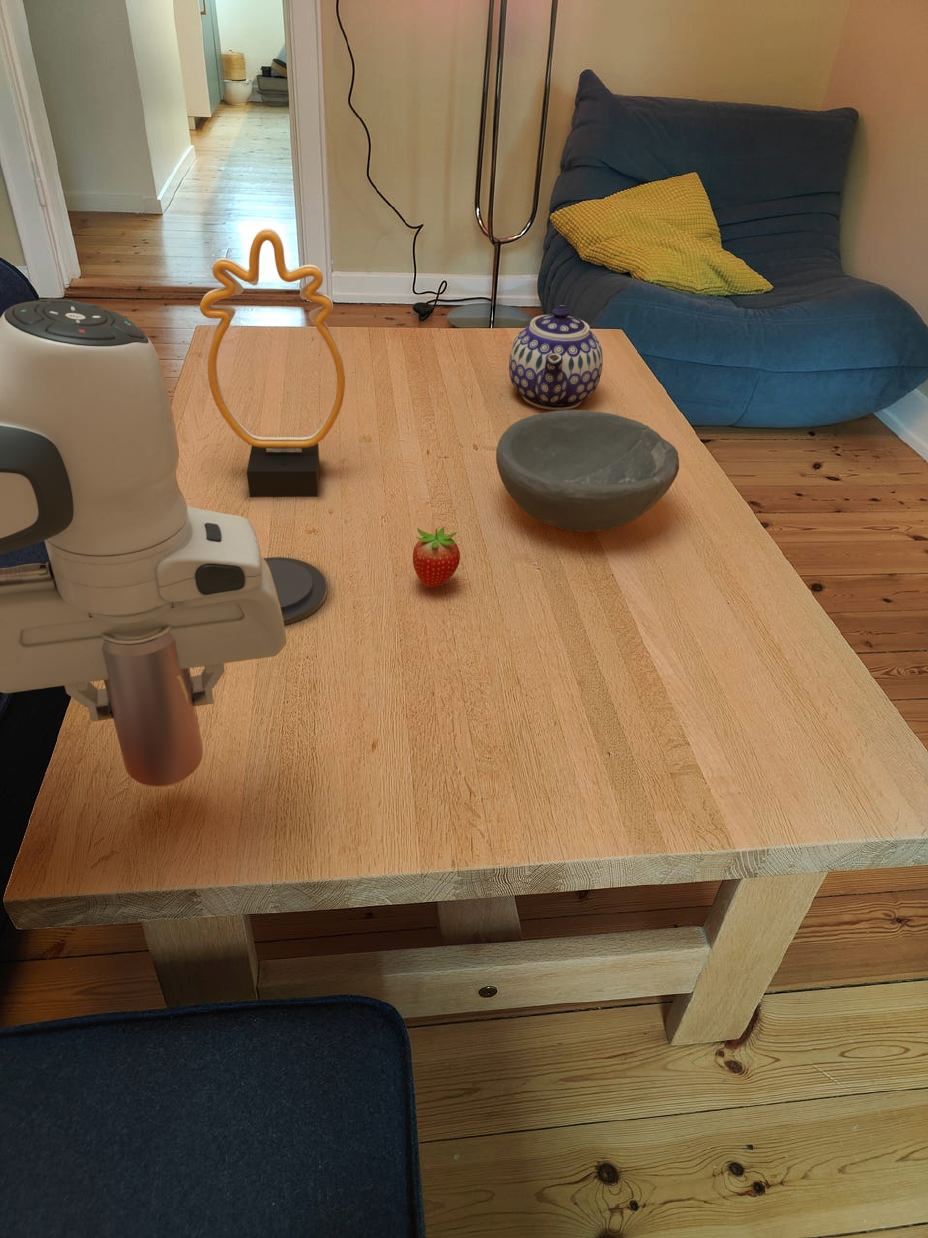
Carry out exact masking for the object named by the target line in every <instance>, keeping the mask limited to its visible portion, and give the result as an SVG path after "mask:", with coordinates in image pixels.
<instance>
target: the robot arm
mask: <svg viewBox="0 0 928 1238" xmlns="http://www.w3.org/2000/svg"><path fill="white" fill-rule="evenodd" d="M179 448H180V447H179V442H178V434H177V428H176V422H175V416H174V411H173V407H172V401H171V396H170V392H169V387H168V384H167V380H166V377H165V373H164V369H163V366H162V364H161V360H160V357H159V355H158V353H157V350H156V348H155V346H154V344H153V343H152V341H151V340H150V338H149V337H148V336H147V334H146V333H145V332H144V331H143V330H142V329H141V328H140V327H138V326H137V325H136V324H135V323H134V322H133V321H131V320H130V319H129V318H127V317H126V316H124V315H123V314H121V313H119V312H117V311H115V310H114V311H113V310H110V309H107V308H104V307H102V306H101V305H98V304H92V303H88V302H85V301H84V302H83V301H77V300H70V299H59V298H58V299H57V298H47V299H46V298H42V299H37V300H32V301H31V300H30V301H25V302H21V303H17V304H13V305H12V306H10V307H8V308H7V309H6V310H4V312H3V313H2V315H1V316H0V555H3V554H7V553H10V552H14V551H17V550H20V549H23V548H24V549H25V548H27V547H30V546H33V545H35V544H38V543H40V542H43V541H44V544H45V548H46V551H47V555H48V560H49V561H47V562H46V561H45V562H36V563H27V564H21V565H16V566H11V567H1V568H0V693H2V694H12V693H19V692H27V691H35V690H41V689H48V688H55V687H62V686H64V689H65V694H67V695H68V696H69V697H71V698H72V699H74V701H76V702H77V703H79V704H81V705H82V706H84V707H85V708H87V710H88V713H89V716H90V720H91V722H92V723H94V722H100V721H107V720H113V715H112V712H111V707H110V703H109V700H108V695H107V691H106V688H97V687H96V686H95V685H94V684H92V682H99V681H104V680H107V679H108V672H107V668H106V664H105V660H104V656H103V652H102V647H103V644H104V639H103V638H102V637H100V634H101V633H103V634H105V635H107V636H109V637H112V638H114V637H115V636H113V635H112V634H113V633H119V632H127V631H136V630H144V629H154V628H161V629H160V630H159V631H158V632H161V631H162V630H164V629H165V628H166V627H168V626H169V625H172V628H171V629H170V630H169V632H170V634H171V635H172V636H173V638H174V639H175V642H176V649H177V655H178V662H179V666H180V668H181V669H187V668H190V669H193V668H201V667H203V670H202V672H201V674H199V675H198V674H197V675H191V679H192V696H193V699H194V701H193V702H194V706H196V707H199V706H207V705H214V703H215V702H214V693H213V689H215V687H216V685H217V684H218V682H219V681H220V679H221V678H222V676H223V674H224V673H225V664H230V663H237V662H244V661H251V660H258V659H265V658H274V657H276V656H278V655H279V654H280V653H281V652H282V650H284V648H285V647H286V646H287V633H286V626H285V625H284V622H283V617H282V612H281V607H280V603H279V599H278V596H277V592H276V588H275V584H274V581H273V577H272V574H271V571H270V568H269V566H268V564H267V563H266V561H265V560H264V559H263V558H264V557H263V556H262V552H261V547H260V543H259V540H258V535H257V533H256V530H255V529H254V527H253V524H252V523H251V521H250V519H248V518H246V517H244V516H242V515H238V514H237V515H235V514H231V513H224V512H219V511H214V510H206V509H204V508H203V509H202V508H198V507H194V506H189V505H187V502H186V499H185V497H184V495H183V493H182V491H181V488H180V486H179V484H178V480H177V479H178V478H177V468H178V464H179V458H180V449H179Z"/></svg>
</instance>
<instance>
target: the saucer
mask: <svg viewBox="0 0 928 1238" xmlns="http://www.w3.org/2000/svg"><path fill="white" fill-rule="evenodd" d="M263 559H264V560H265V561H266V563H267V564H268V566H269V568H270V571H271V574H272V577H273V581H274V584H275V588H276V592H277V596H278V599H279V603H280V607H281V612H282V617H283V622H284V626H286V625H287V626H288V625H291V624H294V623H296V622H299V621H303V620H304V619H307V618H308V617H310V616H311V615H313V614H314V613H316V612H317V611H318V610H319V609H320V608H321V606H322V605H323V604H324V602H325V600H326V598H327V593H328V586H327V581H326V578H325V576H324V575H323V573H322V572H321V571H320V570H319V569H318V568H317V567H316V566H314V565H312V564H310V563H308V562H306V561H303V560H300V559H297V558H291V557H284V556H283V557H282V556H277V557H275V556H273V557H272V556H271V557H263Z"/></svg>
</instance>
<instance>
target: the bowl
mask: <svg viewBox="0 0 928 1238" xmlns="http://www.w3.org/2000/svg"><path fill="white" fill-rule="evenodd" d="M495 462H496V468H497V471H498V474H499V477H500V480H501V482H502V484H503V486H504V488H505V490H506V492H507V493H508V495H509V496H510V498H511V499H512V500H513V501H514V502H515V503H516V504H517V505H518V506H519V507H520V508H521V509H522V510H523V511H524V513H526V514H527V515H528V516H530V517H532V518H533V519H534V520H537V521H539V522H541V523H543V524H545V525H548V526H550V527H553V528H556V529H562V530H567V531H571V532H572V531H573V532H587V533H588V532H600V531H606V530H607V531H608V530H612V529H616V528H620V527H623V526H625V525H627V524H630V523H631V522H634V521H636V520H638V519H639V518H640V517H642V516H643V515H645V514H646V513H647V512H649V510H651V509H652V508H653V507H654V506H655V505H656V504H658V503H659V501H660V500H661V499H662V498H663V497H664V496H665V494H666V493H667V492H668V491H669V489H670V488H671V487H672V484H673V483H674V482H675V479H676V478H677V476H678V474H679V473H678V472H679V470H680V458H679V452H678V450H677V449H676V447H675V446H674V445H673V444H672V443H671V442H669V441H668V440H666V439H665V438H664V437H662V436H661V435H660V433H658V432H657V431H655V430H654V429H653V428H651V427H650V426H649V425H647V424H644V423H642V422H639V421H637V420H634V419H631V418H628V417H624V416H621V415H619V414H618V415H617V414H613V413H608V412H603V411H595V410H587V409H585V410H584V409H581V410H579V409H566V410H552V411H547V412H541V413H536V414H532V415H530V416H526V417H523V418H522V419H519V420H516V421H515V422H513V423H512V424H511V425H509V427H508V428H507V429H505V431H504V432H503V433H502V435H501V437H500V439H499V440H498V442H497V446H496V451H495Z"/></svg>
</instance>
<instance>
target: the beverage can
mask: <svg viewBox="0 0 928 1238" xmlns="http://www.w3.org/2000/svg"><path fill="white" fill-rule="evenodd" d="M171 628H172V625H169V626H168V627H166V628H165V629H164V630H162V631H161V632H158V631H159V630H160V629H161V628H154V629H144V630H136V631H127V632H119V633H113V634H112V635H113V636H115V637H114V638H112V637H109V636H107V635H105V634H103V633H101V634H100V637H102V638H103V639H104V644H103V647H102V652H103V656H104V660H105V664H106V668H107V672H108V679H107V680H103V683H104V686H105V689H106V691H107V695H108V700H109V703H110V707H111V712H112V715H113V719H112V720H113V724H114V728H115V732H116V736H117V740H118V744H119V748H120V752H121V756H122V761H123V764H124V769H125V771H126V773H127V774H128V776H129V777H130V778H131V779H133V780H134V781H136V782H137V783H139V784H141V785H143V786H146V787H151V788H166V787H171V786H174V785H178V784H179V783H182V782H184V781H185V780H186V779H188V778H190V776H192V775H193V774H194V772H195V771H197V769H198V767H199V766H200V764H201V762H202V759H203V755H204V748H203V743H202V742H203V741H202V736H201V729H200V723H199V717H198V710H197V706H194V702H193V701H194V699H193V696H192V679H191V677H192V674H191V668H187V669H181V668H180V666H179V662H178V655H177V649H176V642H175V639H174V638H173V636H172V635H171V634H170V632H169V630H170V629H171Z"/></svg>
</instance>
